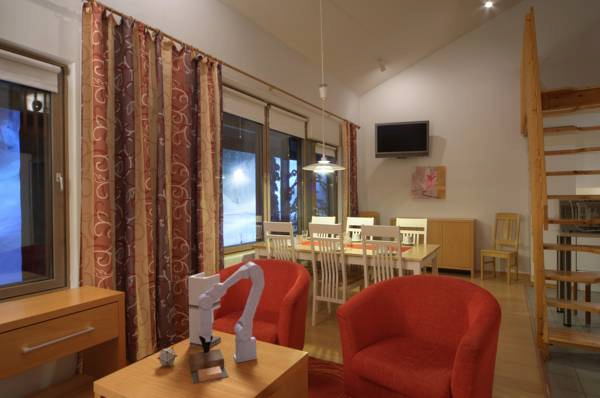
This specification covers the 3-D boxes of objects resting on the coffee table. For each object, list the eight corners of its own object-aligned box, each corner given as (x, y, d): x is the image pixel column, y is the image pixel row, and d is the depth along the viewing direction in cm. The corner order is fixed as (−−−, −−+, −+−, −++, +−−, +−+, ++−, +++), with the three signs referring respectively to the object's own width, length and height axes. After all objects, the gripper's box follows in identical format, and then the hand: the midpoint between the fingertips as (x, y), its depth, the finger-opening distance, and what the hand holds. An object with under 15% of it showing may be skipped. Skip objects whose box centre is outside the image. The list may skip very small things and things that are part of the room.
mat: (224, 367, 162) (224, 366, 162) (228, 376, 153) (228, 376, 153) (191, 373, 156) (191, 373, 156) (193, 383, 148) (193, 383, 148)
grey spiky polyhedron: (169, 375, 163) (168, 363, 157) (153, 367, 164) (151, 355, 158) (181, 358, 170) (181, 346, 164) (165, 350, 171) (165, 338, 165)
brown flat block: (219, 357, 172) (219, 348, 172) (224, 367, 162) (224, 358, 162) (188, 362, 167) (188, 354, 166) (191, 373, 156) (191, 364, 156)
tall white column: (206, 349, 180) (205, 278, 180) (189, 346, 185) (188, 276, 184) (220, 341, 191) (219, 273, 190) (204, 337, 195) (203, 272, 195)
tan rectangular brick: (221, 372, 153) (221, 377, 153) (219, 366, 158) (219, 370, 158) (199, 376, 149) (199, 381, 149) (197, 370, 155) (197, 374, 155)
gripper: (194, 318, 169) (195, 347, 169) (198, 328, 156) (198, 360, 156) (210, 315, 172) (210, 344, 172) (215, 326, 158) (215, 357, 158)
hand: (206, 352), depth 164 cm, fingers closed
